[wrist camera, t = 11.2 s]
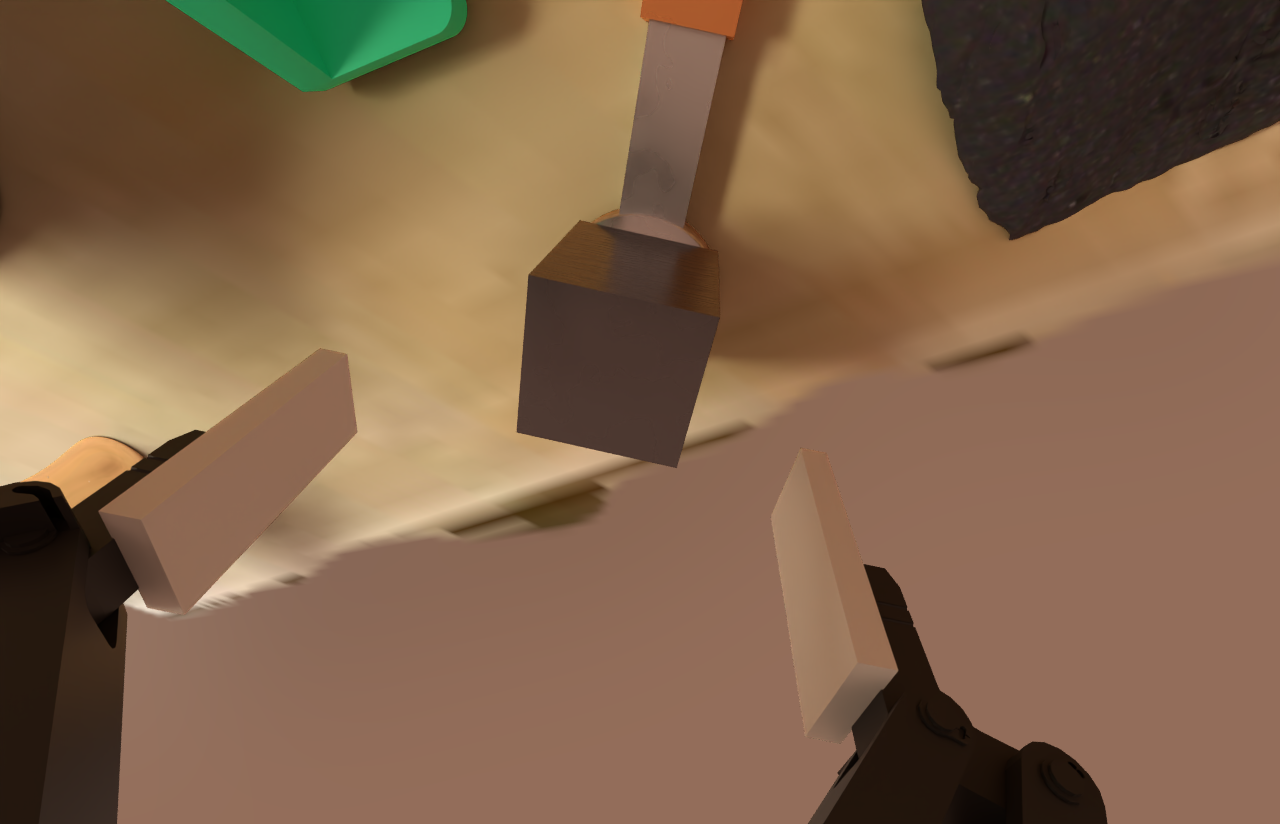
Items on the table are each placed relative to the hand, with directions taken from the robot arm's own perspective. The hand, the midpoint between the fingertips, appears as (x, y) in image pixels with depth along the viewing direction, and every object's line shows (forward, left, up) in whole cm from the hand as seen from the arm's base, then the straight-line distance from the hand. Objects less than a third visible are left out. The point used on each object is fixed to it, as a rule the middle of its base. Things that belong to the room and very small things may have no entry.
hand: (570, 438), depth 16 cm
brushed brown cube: (0, 0, -12) cm, 12 cm away
